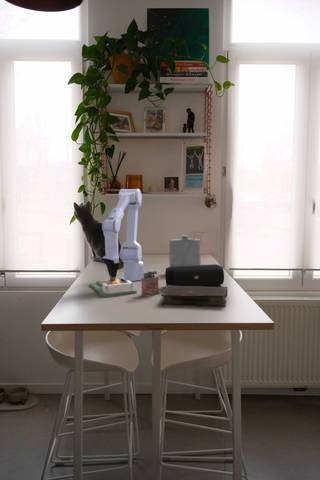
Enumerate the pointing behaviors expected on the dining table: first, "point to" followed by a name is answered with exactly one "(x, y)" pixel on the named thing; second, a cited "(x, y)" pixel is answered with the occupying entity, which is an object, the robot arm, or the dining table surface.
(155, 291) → the lighter
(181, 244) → the hip flask
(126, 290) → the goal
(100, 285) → the pitch
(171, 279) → the portable speaker
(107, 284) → the beige block
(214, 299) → the diary
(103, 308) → the dining table surface
